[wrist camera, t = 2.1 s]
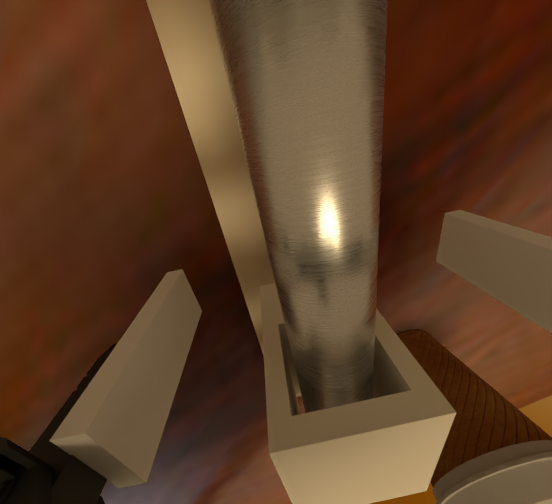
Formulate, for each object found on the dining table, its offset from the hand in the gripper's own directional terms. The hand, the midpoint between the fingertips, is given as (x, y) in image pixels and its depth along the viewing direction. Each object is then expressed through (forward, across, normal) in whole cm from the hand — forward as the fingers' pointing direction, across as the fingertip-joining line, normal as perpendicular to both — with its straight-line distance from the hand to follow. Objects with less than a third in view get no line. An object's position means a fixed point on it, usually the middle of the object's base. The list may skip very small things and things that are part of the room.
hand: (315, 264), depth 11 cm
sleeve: (+6, 0, -8) cm, 10 cm away
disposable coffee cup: (+6, +10, -17) cm, 20 cm away
